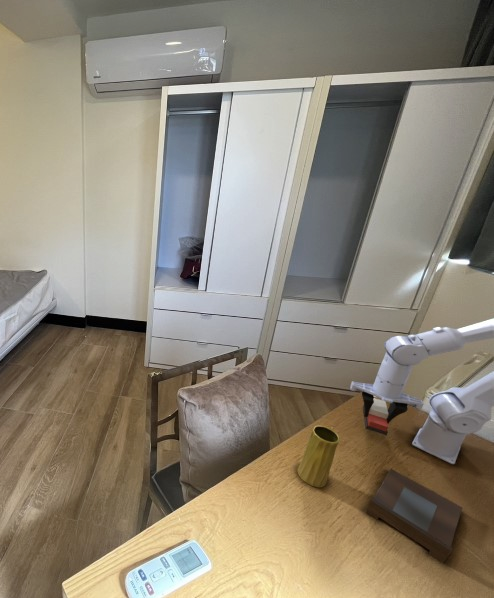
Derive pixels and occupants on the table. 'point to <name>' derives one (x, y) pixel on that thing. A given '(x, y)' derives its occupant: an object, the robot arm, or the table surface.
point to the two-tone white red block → (377, 417)
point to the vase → (318, 456)
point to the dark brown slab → (417, 513)
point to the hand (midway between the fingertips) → (375, 417)
